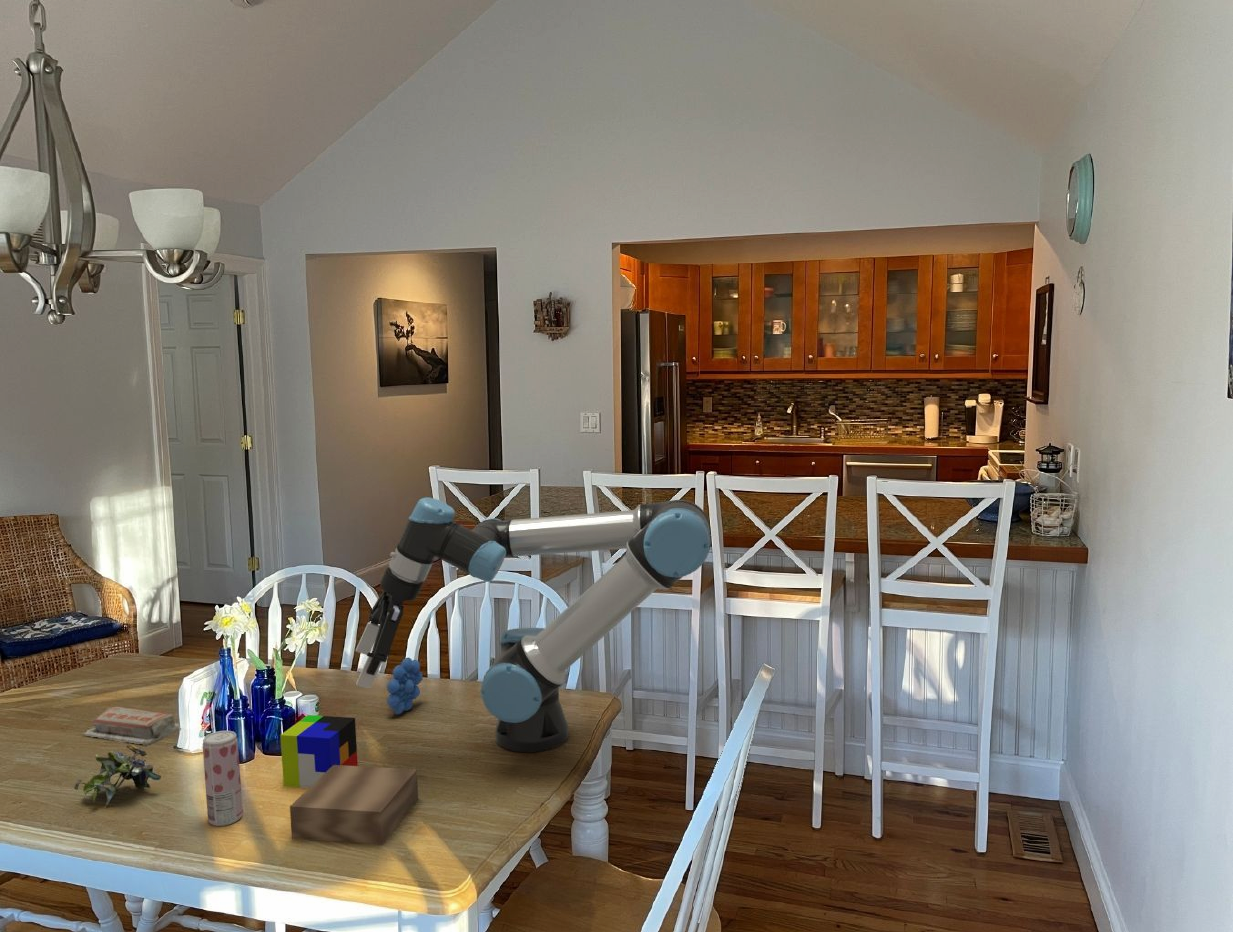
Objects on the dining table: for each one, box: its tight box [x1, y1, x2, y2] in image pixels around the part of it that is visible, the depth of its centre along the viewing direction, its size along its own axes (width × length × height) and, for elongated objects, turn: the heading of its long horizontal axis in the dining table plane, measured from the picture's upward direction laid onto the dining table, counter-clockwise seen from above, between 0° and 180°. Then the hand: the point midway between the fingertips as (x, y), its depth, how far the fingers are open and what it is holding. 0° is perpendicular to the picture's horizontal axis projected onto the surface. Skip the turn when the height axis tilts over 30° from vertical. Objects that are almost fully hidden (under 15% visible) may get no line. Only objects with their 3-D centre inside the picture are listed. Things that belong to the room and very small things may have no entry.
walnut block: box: [289, 765, 419, 845], centre depth 165 cm, size 16×16×6 cm
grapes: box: [386, 657, 424, 715], centre depth 214 cm, size 12×7×12 cm, turn 155°
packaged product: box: [82, 706, 180, 746], centre depth 206 cm, size 18×5×10 cm
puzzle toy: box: [280, 714, 359, 789], centre depth 182 cm, size 10×10×10 cm
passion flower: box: [73, 744, 162, 808], centre depth 174 cm, size 11×11×12 cm
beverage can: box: [202, 730, 244, 827], centre depth 165 cm, size 6×6×15 cm
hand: (362, 668), depth 186 cm, fingers open, 13 cm apart
